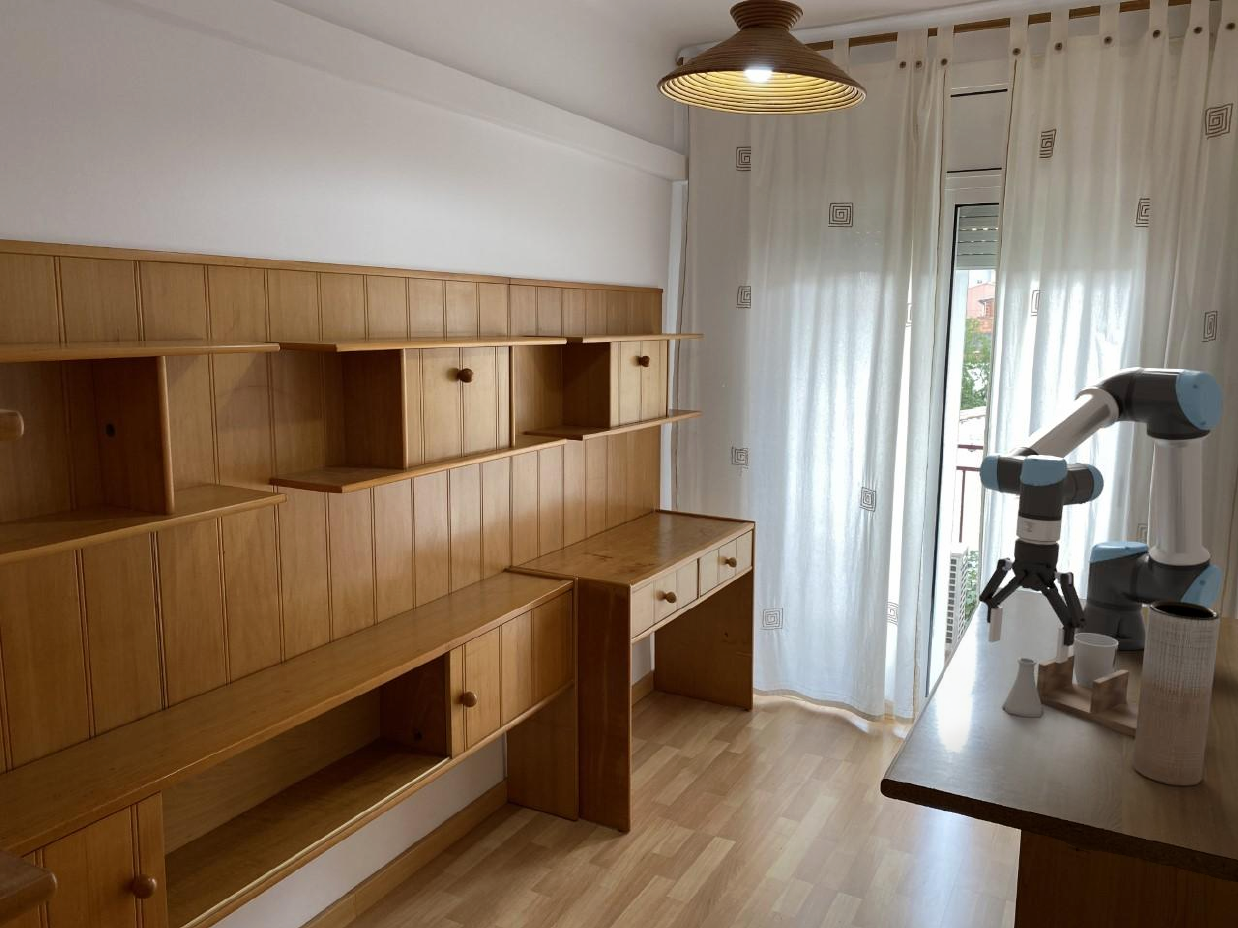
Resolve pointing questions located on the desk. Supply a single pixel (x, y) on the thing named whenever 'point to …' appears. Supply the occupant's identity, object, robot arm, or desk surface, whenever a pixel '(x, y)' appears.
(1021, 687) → the flask
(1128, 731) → the rack
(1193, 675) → the vase
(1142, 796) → the desk surface
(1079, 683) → the cup
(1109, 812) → the desk surface
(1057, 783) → the desk surface
